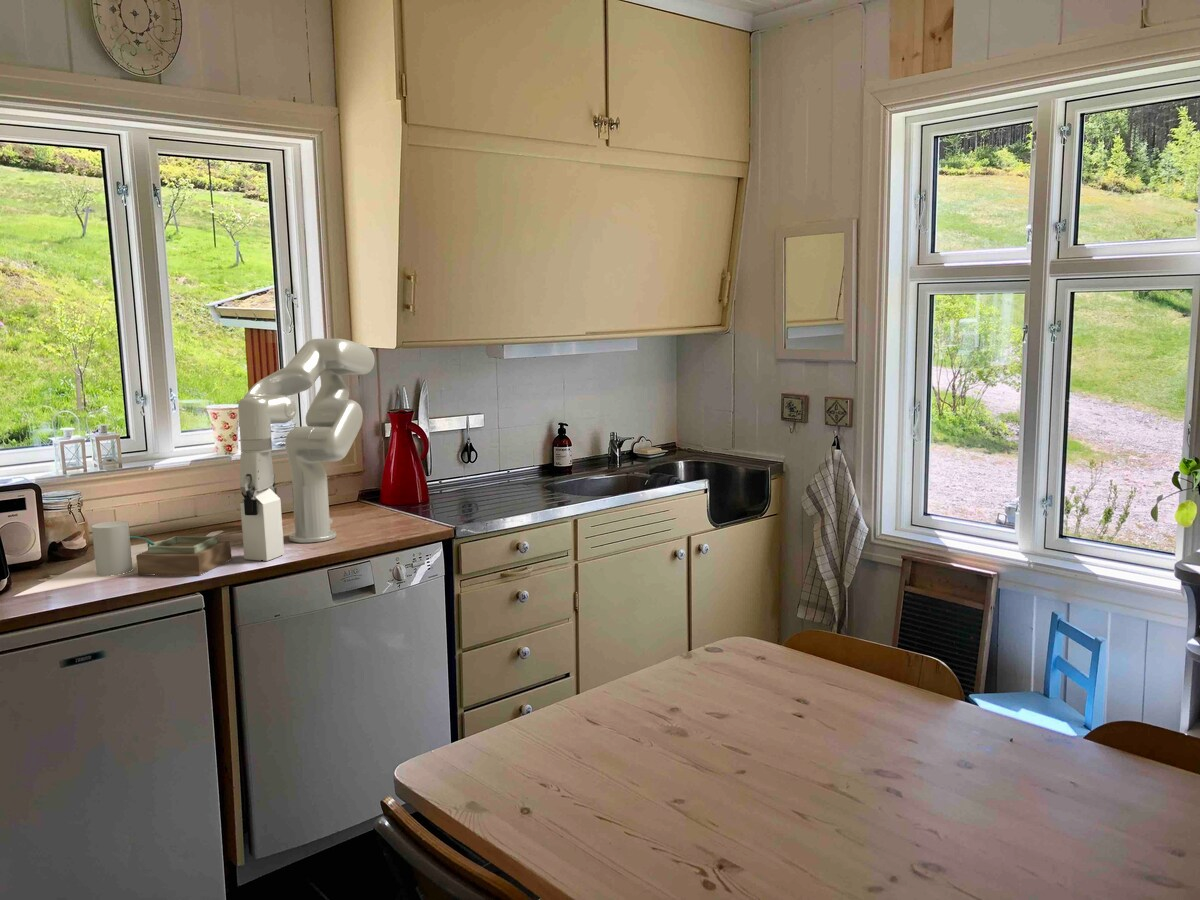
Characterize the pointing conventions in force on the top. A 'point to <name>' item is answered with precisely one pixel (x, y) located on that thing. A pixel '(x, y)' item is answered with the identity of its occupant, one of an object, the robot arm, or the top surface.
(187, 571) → the stand
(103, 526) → the cup
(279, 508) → the milk carton
